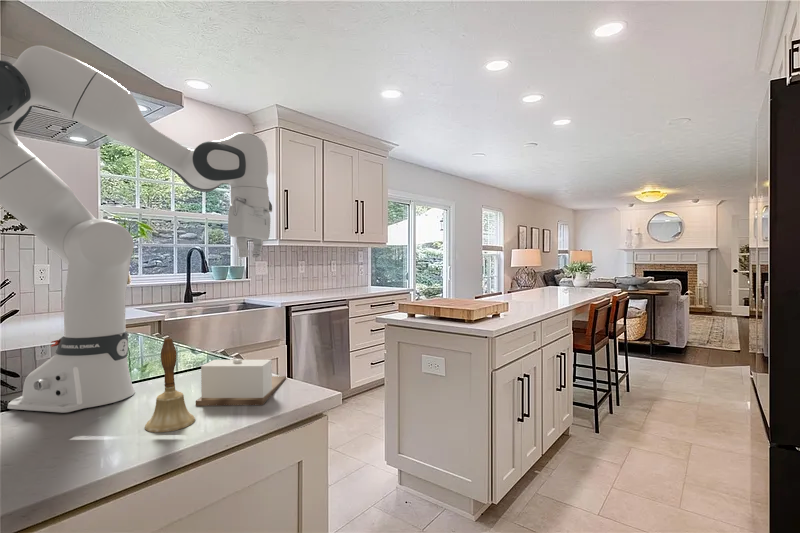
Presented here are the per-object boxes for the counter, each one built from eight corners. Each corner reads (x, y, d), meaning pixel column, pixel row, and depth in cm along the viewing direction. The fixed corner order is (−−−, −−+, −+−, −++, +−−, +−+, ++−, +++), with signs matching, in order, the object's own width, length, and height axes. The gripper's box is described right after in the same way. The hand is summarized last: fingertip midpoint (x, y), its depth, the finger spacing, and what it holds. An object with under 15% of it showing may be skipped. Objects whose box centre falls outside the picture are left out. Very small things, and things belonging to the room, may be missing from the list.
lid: (201, 397, 91) (201, 362, 91) (214, 389, 97) (213, 356, 97) (262, 397, 91) (262, 362, 91) (271, 389, 97) (271, 356, 97)
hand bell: (174, 434, 75) (173, 343, 75) (133, 430, 77) (132, 341, 77) (204, 417, 83) (203, 335, 83) (167, 414, 85) (166, 333, 85)
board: (195, 405, 90) (195, 399, 90) (230, 380, 109) (230, 375, 109) (262, 405, 90) (262, 398, 90) (286, 380, 109) (286, 374, 109)
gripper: (248, 194, 96) (249, 256, 96) (274, 206, 117) (274, 257, 117) (219, 195, 96) (220, 257, 96) (250, 206, 117) (251, 257, 117)
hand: (250, 257), depth 107 cm, fingers open, 8 cm apart
